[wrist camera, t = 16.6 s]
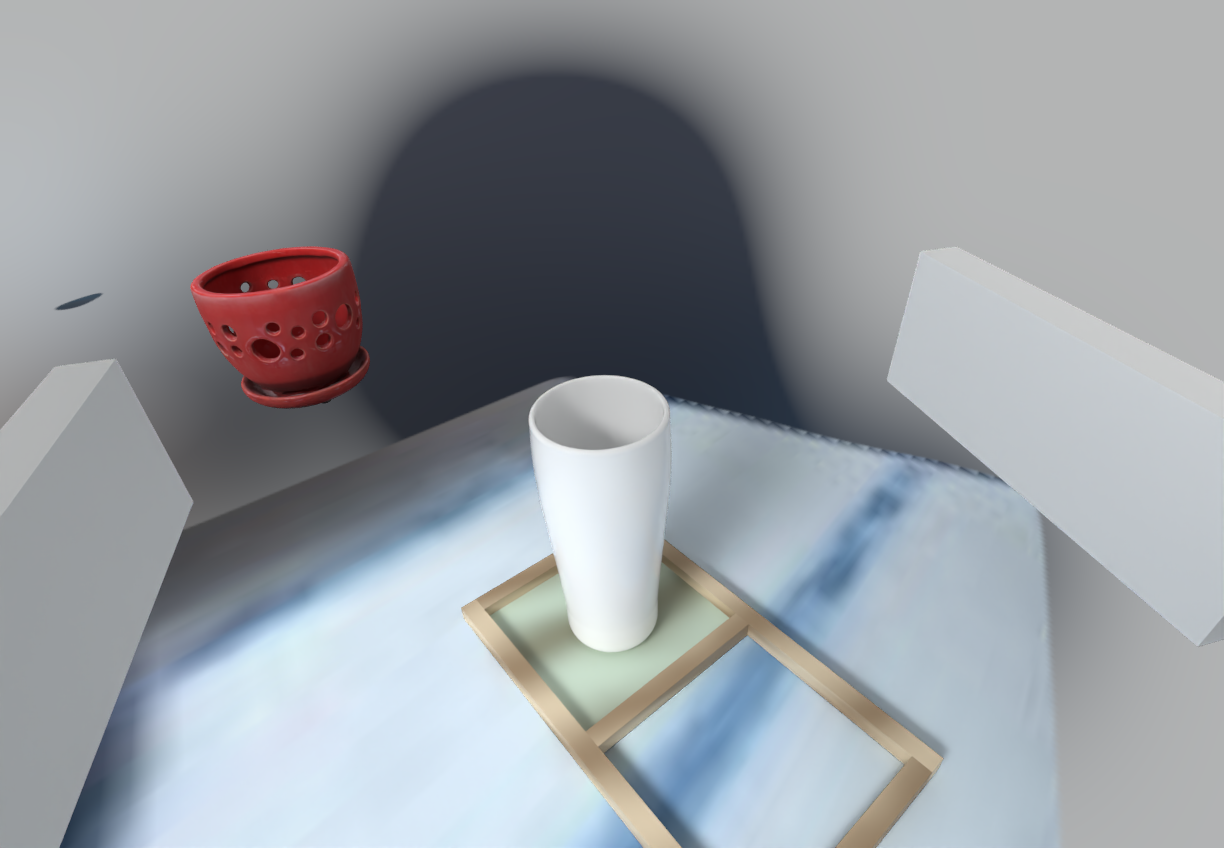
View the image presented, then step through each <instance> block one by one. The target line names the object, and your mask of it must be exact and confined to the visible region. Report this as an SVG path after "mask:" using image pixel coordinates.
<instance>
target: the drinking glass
mask: <svg viewBox="0 0 1224 848" xmlns="http://www.w3.org/2000/svg"><path fill="white" fill-rule="evenodd" d="M529 431H530V444H531V454H532V462H533V469H534V475H535V481H536V486H537V491H538V496H539V500H540V504H541V508H542V512H543V516H544V520H545V524H546V528H547V531H548V535H549V539H550V543H551V546H552V550H553V554H554V558H555V562H556V566H557V570H558V574H559V577H560V581H561V585H562V589H563V593H564V598H565V602H566V609H567V616H568V621H569V625H570V628H571V630H572V632H573V633H574V635H575V636H576V637H577V638H578V639H579V640H580V641H581V642H582V643H583V644H585V645H586V646H588V647H590V648H592V649H594V650H597V651H602V652H611V653H613V652H622V651H626V650H629V649H632V648H634V647H636V646H638V645H639V644H641V643H642V642H643V641H644V640H646V639H647V638H648V636H649V635H650V634H651V632H652V631H653V629H654V627H655V625H656V621H657V617H658V591H659V581H660V572H661V563H662V554H663V546H664V537H665V529H666V521H667V513H668V505H669V496H670V486H671V469H672V442H671V421H670V408H669V405H668V402H667V400H666V399H665V397H664V396H663V395H662V394H661V393H660V392H659V391H658V390H656V389H655V388H653V387H652V386H650V385H648V384H646V383H644V382H642V381H639V380H636V379H632V378H627V377H622V376H613V375H612V376H611V375H597V376H587V377H581V378H577V379H573V380H569V381H566V382H564V383H561V384H559V385H557V386H555V387H553V388H551V389H549V390H548V391H546V392H545V393H544V394H542V395H541V396H540V397H539V398H538V399H537V400H536V401H535V403H534V404H533V406H532V408H531V410H530V413H529Z"/></svg>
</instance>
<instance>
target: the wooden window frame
mask: <svg viewBox="0 0 1224 848" xmlns="http://www.w3.org/2000/svg"><path fill="white" fill-rule="evenodd" d="M461 609H462V613H463V617H464V619H465V621H466V622H467V623H468V624H469V626H470V627H471V628H472V630H473V631H474V632H475V633H476V635H477V636H478V637H479V638H480V640H481V641H482V642H483V644H484V645H485V646H486V647H487V649H488V650H489V651H490V652H491V654H492V655H493V656H494V658H495V659H496V660H497V661H498V663H499V664H500V665H501V667H502V668H503V669H504V670H505V672H506V673H507V674H508V675H509V677H510V678H511V679H512V681H513V682H514V683H515V684H516V686H517V687H518V688H519V690H520V691H521V692H522V693H523V695H524V696H525V697H526V698H527V700H528V701H529V702H530V704H531V705H532V706H533V707H534V709H535V710H536V711H537V712H538V714H539V715H540V716H541V718H542V719H543V720H544V721H545V723H546V724H547V725H548V727H549V728H550V729H551V730H552V732H553V733H554V734H555V735H556V737H557V738H558V739H559V741H560V742H561V743H562V744H563V746H564V747H565V748H566V750H567V751H568V752H569V753H570V755H571V756H572V757H573V758H574V760H575V761H576V762H577V764H578V765H579V766H580V767H581V769H582V770H583V771H584V772H585V774H586V775H587V776H588V778H589V779H590V780H591V781H592V783H593V784H594V785H595V787H596V788H597V789H598V790H599V792H600V793H601V794H602V795H603V797H604V798H605V799H606V801H607V802H608V803H609V804H610V806H611V807H612V808H613V810H614V811H615V812H616V813H617V815H618V816H619V817H620V818H621V820H622V821H623V822H624V824H625V825H626V826H627V827H628V829H629V830H630V831H631V833H632V834H633V835H634V836H635V838H636V839H637V840H638V841H639V843H640V844H641V845H642V847H643V848H682V847H681V846H680V845H679V844H678V842H677V841H676V840H675V839H674V838H673V836H672V835H671V834H670V833H669V832H668V830H667V829H666V828H665V827H664V826H663V824H662V823H661V822H660V821H659V820H658V818H657V817H656V816H655V815H654V814H653V812H652V811H651V810H650V809H649V807H648V806H647V805H646V804H645V803H644V801H643V800H642V799H641V798H640V797H639V795H638V794H637V793H636V792H635V791H634V789H633V788H632V787H631V786H630V785H629V783H628V782H627V781H626V780H625V779H624V777H623V776H622V775H621V774H620V772H619V771H618V770H617V769H616V768H615V766H614V765H613V764H612V763H611V762H610V760H609V759H608V758H607V757H606V756H605V754H604V753H605V752H606V751H607V750H609V749H610V748H611V747H612V746H613V745H615V744H616V743H617V742H618V741H619V740H621V739H622V738H623V737H624V736H626V735H627V734H628V733H629V732H630V731H632V730H633V729H634V728H635V727H636V726H638V725H639V724H640V723H641V722H643V721H644V720H645V719H646V718H647V717H649V716H650V715H651V714H652V713H653V712H655V711H656V710H657V709H658V708H660V707H661V706H662V705H663V704H664V703H666V702H667V701H668V700H669V699H670V698H672V697H673V696H674V695H675V694H676V693H678V692H679V691H680V690H681V689H683V688H684V687H685V686H686V685H687V684H689V683H690V682H691V681H692V680H693V679H695V678H696V677H697V676H698V675H700V674H701V673H702V672H703V671H704V670H706V669H707V668H708V667H709V666H710V665H712V664H713V663H714V662H715V661H717V660H718V659H719V658H720V657H721V656H723V655H724V654H725V653H726V652H727V651H729V650H730V649H731V648H732V647H734V646H735V645H736V644H737V643H738V642H740V641H741V640H742V639H743V638H744V637H746V636H747V635H748V636H749V637H750V638H752V639H753V640H754V641H755V642H756V643H758V644H759V645H760V646H761V647H763V648H764V649H765V650H766V651H767V652H769V653H770V654H771V655H772V656H773V657H775V658H776V659H777V660H778V661H780V662H781V663H782V664H783V665H784V666H786V667H787V668H788V669H789V670H790V671H792V672H793V673H794V674H795V675H797V676H798V677H799V678H800V679H801V680H803V681H804V682H805V683H806V684H807V685H809V686H810V687H811V688H812V689H813V690H815V691H816V692H817V693H818V694H820V695H821V696H822V697H823V698H824V699H826V700H827V701H828V702H829V703H830V704H832V705H833V706H834V707H835V708H837V709H838V710H839V711H840V712H841V713H843V714H844V715H845V716H846V717H847V718H849V719H850V720H851V721H852V722H853V723H855V724H856V725H857V726H858V727H860V728H861V729H862V730H863V731H864V732H866V733H867V734H868V735H869V736H870V737H872V738H873V739H874V740H875V741H877V742H878V743H879V744H880V745H881V746H883V747H884V748H885V749H886V750H887V751H889V752H890V753H891V754H892V755H893V756H895V757H896V758H897V759H898V760H900V761H901V762H902V763H903V764H904V766H903V767H902V769H901V770H900V771H899V772H898V773H897V775H896V776H895V777H894V778H893V779H892V781H891V782H890V783H889V784H888V785H887V786H886V788H885V789H884V790H883V791H882V792H881V794H880V795H879V796H878V797H877V798H876V800H875V801H874V802H873V803H872V804H871V806H870V807H869V808H868V809H867V810H866V812H865V813H864V814H863V815H862V816H861V817H860V819H859V820H858V821H857V822H856V823H855V825H854V826H853V827H852V828H851V829H850V831H849V832H848V833H847V834H846V835H845V837H844V838H843V839H842V840H841V841H840V843H839V844H838V845H837V846H836V847H835V848H876V847H877V846H878V844H879V843H880V842H881V841H882V839H883V838H884V837H885V836H886V834H887V833H888V832H889V831H890V829H891V828H892V827H893V826H894V824H895V823H896V822H897V821H898V819H899V818H900V817H901V816H902V814H903V813H904V812H905V810H906V809H907V808H908V807H909V805H910V804H911V803H912V802H913V800H914V799H915V798H916V797H917V795H918V794H919V793H920V792H921V790H922V789H923V788H924V787H925V785H926V784H927V783H928V782H929V780H930V779H931V778H932V776H933V775H934V774H935V773H936V771H937V770H938V769H939V767H940V765H941V762H942V760H943V758H942V757H941V756H940V755H939V754H937V753H936V752H935V751H933V750H932V749H931V748H930V747H928V746H927V745H926V744H925V743H923V742H922V741H921V740H919V739H918V738H917V737H916V736H914V735H913V734H912V733H911V732H909V731H908V730H907V729H905V728H904V727H903V726H902V725H900V724H899V723H898V722H897V721H895V720H894V719H893V718H891V717H890V716H889V715H888V714H886V713H885V712H884V711H883V710H881V709H880V708H879V707H877V706H876V705H875V704H874V703H872V702H871V701H870V700H868V699H867V698H866V697H865V696H863V695H862V694H861V693H860V692H858V691H857V690H856V689H854V688H853V687H852V686H851V685H849V684H848V683H847V682H846V681H844V680H843V679H842V678H840V677H839V676H838V675H837V674H835V673H834V672H833V671H832V670H830V669H829V668H828V667H826V666H825V665H824V664H823V663H821V662H820V661H819V660H818V659H816V658H815V657H814V656H812V655H811V654H810V653H809V652H807V651H806V650H805V649H804V648H802V647H801V646H800V645H798V644H797V643H796V642H795V641H793V640H792V639H791V638H790V637H788V636H787V635H786V634H784V633H783V632H782V631H781V630H779V629H778V628H777V627H775V626H774V625H773V624H772V623H770V622H769V621H768V620H767V619H765V618H764V617H763V616H761V615H760V614H759V613H758V612H756V611H755V610H754V609H753V608H751V607H750V606H749V605H747V604H746V603H745V602H744V601H742V600H741V599H740V598H739V597H737V596H736V595H735V594H733V593H732V592H731V591H730V590H728V589H727V588H726V587H725V586H723V585H722V584H721V583H719V582H718V581H717V580H716V579H714V578H713V577H712V576H711V575H709V574H708V573H707V572H705V571H704V570H703V569H702V568H700V567H699V566H698V565H696V564H695V563H694V562H693V561H691V560H690V559H689V558H688V557H686V556H685V555H684V554H682V553H681V552H680V551H679V550H677V549H676V548H675V547H674V546H672V545H671V544H670V543H668V542H667V541H666V540H665V539H664V546H663V554H662V563H661V572H660V581H659V591H658V617H657V621H656V625H655V627H654V629H653V631H652V632H651V634H650V635H649V636H648V638H647V639H646V640H644V641H643V642H642V643H641V644H639V645H638V646H636V647H634V648H632V649H629V650H626V651H622V652H613V653H611V652H602V651H597V650H594V649H592V648H590V647H588V646H586V645H585V644H583V643H582V642H581V641H580V640H579V639H578V638H577V637H576V636H575V635H574V633H573V632H572V630H571V628H570V625H569V621H568V616H567V609H566V602H565V598H564V593H563V589H562V585H561V581H560V577H559V574H558V570H557V566H556V562H555V558H554V554H551V555H549V556H548V557H546V558H544V559H543V560H541V561H539V562H537V563H536V564H534V565H532V566H531V567H529V568H527V569H526V570H524V571H522V572H521V573H519V574H517V575H516V576H514V577H512V578H511V579H509V580H507V581H506V582H504V583H502V584H501V585H499V586H497V587H495V588H494V589H492V590H490V591H489V592H487V593H485V594H484V595H482V596H480V597H479V598H477V599H475V600H474V601H472V602H470V603H469V604H467V605H465V606H464V607H462V608H461Z"/></svg>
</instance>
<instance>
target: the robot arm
mask: <svg viewBox="0 0 1224 848" xmlns="http://www.w3.org/2000/svg"><path fill="white" fill-rule="evenodd" d="M887 381H888V382H889V383H890V384H891V385H893V386H894V387H895V388H896V389H897V390H898V391H900V392H901V393H902V394H903V395H904V396H906V397H907V398H908V399H909V400H910V401H911V402H913V403H914V404H915V405H916V406H917V407H918V408H919V409H921V410H922V411H923V412H924V413H925V414H926V415H928V416H929V417H930V418H931V419H932V420H933V421H935V422H936V423H937V424H938V425H939V426H940V427H942V428H943V429H944V430H945V431H946V432H947V433H949V434H950V435H951V436H952V437H953V438H954V439H956V440H957V441H958V442H959V443H960V444H961V445H963V446H964V447H965V448H966V449H967V450H968V451H970V452H971V453H972V454H973V455H974V456H975V457H977V458H978V459H979V460H980V461H981V462H982V463H984V464H985V465H986V466H987V467H988V468H989V469H991V470H992V471H993V472H994V473H995V474H996V475H998V476H999V477H1000V478H1001V479H1002V480H1003V481H1005V482H1006V483H1007V484H1008V485H1009V486H1010V487H1012V488H1013V489H1014V490H1015V491H1016V492H1017V493H1019V494H1020V495H1021V496H1022V497H1023V498H1024V499H1026V500H1027V501H1028V502H1029V503H1030V504H1031V505H1033V506H1034V507H1035V508H1036V509H1037V510H1038V511H1040V512H1041V513H1042V514H1043V515H1044V516H1046V517H1047V518H1048V519H1049V520H1050V521H1051V522H1053V523H1054V524H1055V525H1056V526H1057V527H1058V528H1059V529H1061V530H1062V531H1063V532H1064V533H1065V534H1066V535H1068V536H1069V537H1070V538H1071V539H1072V540H1073V541H1075V542H1076V543H1077V544H1078V545H1079V546H1080V547H1082V548H1083V549H1084V550H1085V551H1086V552H1087V553H1089V554H1090V555H1091V556H1092V557H1093V558H1094V559H1096V560H1097V561H1098V562H1099V563H1100V564H1101V565H1103V566H1104V567H1105V568H1106V569H1107V570H1108V571H1110V572H1111V573H1112V574H1113V575H1114V576H1115V577H1117V578H1118V579H1119V580H1120V581H1121V582H1123V583H1124V584H1125V585H1126V586H1127V587H1128V588H1129V589H1131V590H1132V591H1133V592H1134V593H1135V594H1136V595H1138V596H1139V597H1140V598H1141V599H1142V600H1143V601H1145V602H1146V603H1147V604H1148V605H1149V606H1151V607H1152V608H1153V609H1154V610H1155V611H1156V612H1157V613H1159V614H1160V615H1161V616H1162V617H1163V618H1164V619H1166V620H1167V621H1168V622H1169V623H1170V624H1171V625H1173V626H1174V627H1175V628H1176V629H1177V630H1178V631H1180V632H1181V633H1182V634H1183V635H1184V636H1185V637H1187V638H1188V639H1189V640H1190V641H1191V642H1192V643H1194V644H1195V645H1196V646H1197V647H1200V646H1203V645H1206V644H1210V643H1213V642H1216V641H1220V640H1223V639H1224V382H1223V381H1221V380H1219V379H1217V378H1215V377H1213V376H1211V375H1209V374H1207V373H1205V372H1203V371H1201V370H1199V369H1197V368H1195V367H1193V366H1191V365H1189V364H1187V363H1185V362H1183V361H1181V360H1179V359H1177V358H1175V357H1173V356H1171V355H1169V354H1167V353H1166V352H1164V351H1162V350H1160V349H1158V348H1156V347H1154V346H1152V345H1150V344H1148V343H1146V342H1144V341H1142V340H1140V339H1138V338H1136V337H1134V336H1132V335H1130V334H1128V333H1126V332H1124V331H1122V330H1120V329H1118V328H1116V327H1114V326H1112V325H1110V324H1108V323H1106V322H1104V321H1102V320H1101V319H1099V318H1097V317H1095V316H1093V315H1091V314H1089V313H1087V312H1085V311H1083V310H1081V309H1079V308H1077V307H1075V306H1073V305H1070V304H1069V303H1067V302H1065V301H1063V300H1061V299H1059V298H1057V297H1055V296H1053V295H1051V294H1049V293H1047V292H1045V291H1043V290H1041V289H1039V288H1037V287H1035V286H1034V285H1031V284H1030V283H1027V282H1026V281H1024V280H1022V279H1020V278H1017V277H1015V276H1014V275H1012V274H1010V273H1008V272H1006V271H1004V270H1002V269H1000V268H998V267H996V266H994V265H992V264H990V263H988V262H986V261H984V260H982V259H980V258H978V257H976V256H974V255H972V254H970V253H968V252H966V251H964V250H963V249H961V248H959V247H950V248H942V249H935V250H927V251H920V255H919V258H918V262H917V266H916V270H915V274H914V277H913V282H912V285H911V289H910V293H909V296H908V300H907V304H906V308H905V312H904V316H903V319H902V323H901V327H900V331H899V335H898V338H897V342H896V346H895V350H894V353H893V357H892V361H891V365H890V369H889V373H888V377H887ZM192 505H193V500H192V498H191V496H190V494H189V493H188V491H187V489H186V487H185V485H184V483H183V481H182V480H181V478H180V476H179V474H178V472H177V470H176V469H175V467H174V465H173V463H172V461H171V459H170V458H169V456H168V454H167V452H166V450H165V448H164V446H163V445H162V443H161V441H160V439H159V437H158V435H157V434H156V432H155V430H154V428H153V426H152V424H151V422H150V421H149V419H148V417H147V415H146V413H145V411H144V410H143V408H142V406H141V404H140V402H139V400H138V399H137V397H136V395H135V393H134V391H133V389H132V388H131V386H130V384H129V382H128V380H127V378H126V376H125V375H124V373H123V371H122V369H121V367H120V365H119V363H118V362H117V360H116V359H109V360H101V361H94V362H86V363H79V364H72V365H64V366H56V367H54V368H53V369H52V371H51V372H50V373H49V374H48V375H47V376H46V378H45V379H44V380H43V381H42V382H41V383H40V384H39V386H38V387H37V388H36V389H35V390H34V391H33V393H32V394H31V395H30V396H29V397H28V398H27V399H26V401H25V402H24V403H23V404H22V405H21V406H20V408H19V409H18V410H17V411H16V412H15V413H14V414H13V416H12V417H11V418H10V419H9V420H8V421H7V423H6V424H5V425H4V426H3V427H2V428H1V430H0V848H59V847H60V844H61V842H62V839H63V836H64V834H65V831H66V829H67V826H68V824H69V821H70V818H71V816H72V813H73V811H74V808H75V806H76V803H77V800H78V798H79V795H80V793H81V790H82V788H83V785H84V782H85V780H86V777H87V775H88V772H89V770H90V767H91V764H92V762H93V759H94V757H95V754H96V752H97V749H98V746H99V744H100V741H101V739H102V736H103V734H104V731H105V728H106V726H107V723H108V721H109V718H110V716H111V713H112V710H113V708H114V705H115V703H116V700H117V698H118V695H119V692H120V690H121V687H122V685H123V682H124V680H125V677H126V674H127V672H128V669H129V667H130V664H131V662H132V659H133V656H134V654H135V651H136V649H137V646H138V644H139V641H140V638H141V636H142V633H143V631H144V628H145V626H146V623H147V620H148V618H149V615H150V613H151V610H152V608H153V605H154V602H155V600H156V597H157V595H158V592H159V590H160V587H161V584H162V582H163V579H164V577H165V574H166V571H167V569H168V566H169V564H170V561H171V559H172V556H173V553H174V551H175V548H176V546H177V543H178V541H179V538H180V535H181V533H182V530H183V528H184V525H185V523H186V520H187V517H188V515H189V512H190V510H191V507H192Z"/></svg>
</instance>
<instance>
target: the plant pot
mask: <svg viewBox="0 0 1224 848" xmlns="http://www.w3.org/2000/svg"><path fill="white" fill-rule="evenodd" d="M296 277H302V278H304V279H305V280H306V281H304V282H301V283H298V284H294V285H293V279H294V278H296ZM271 280H275V281H277V282H278V287H277V288H275V289H271V288H269V287H268V282H269V281H271ZM245 282H246V283H248V284H249V286H250V287H249V291H247V292H242V290H241V285H242V284H243V283H245ZM191 292H192V295H193V297H194V300H195V303H196V305H197V307H198V310H199V312H200V314H201V316H202V318H203V320H204V322H205V324H206V326H207V328H208V330H209V332H210V334H211V336H212V338H213V340H214V341H215V343H216V345H217V346H218V348H219V349H220V350H221V352H222V353H223V355H224V356H225V357H226V358H227V360H228V361H229V362H230V363H231V364H232V365H233V366H234V367H235V368H236V369H237V370H238V371H239V372H240V373H242V374H243V375H244V377H243V379H242V382H241V386H242V389H243V391H244V393H245V394H246V395H247V396H248V397H249V398H250V399H251V400H253V401H255V402H257V403H259V404H262V405H265V406H269V407H275V408H301V407H307V406H312V405H316V404H319V403H328V402H330V401H331V399H334V398H336V397H338V396H340V395H342V394H344V393H345V392H347V391H349V390H350V389H352V388H353V387H354V386H356V385H357V384H358V383H359V382H360V381H361V380H362V379H363V377H364V376H365V374H366V373H367V371H368V368H369V364H370V358H369V354H368V352H367V351H366V350H365V349H364V348H363V347H362V346H360V342H361V336H362V314H361V303H360V297H359V292H358V288H357V284H356V280H355V276H354V272H353V269H352V266H351V262H350V260H349V258H348V256H347V255H346V254H345V253H343V252H342V251H339V250H337V249H333V248H326V247H292V248H283V249H277V250H270V251H265V252H260V253H255V254H251V255H247V256H243V257H240V258H236V259H233V260H230V261H227V262H225V263H222V264H219V265H217V266H214V267H213V268H211V269H209V270H207V271H205V272H204V273H202V274H200V275H199V276H198V277H196V278H195V279H194V280H193V282H192V284H191ZM228 326H230V327H231V328H232V329H233V330H234V333H232V332H231V331H230V329H229V327H228Z"/></svg>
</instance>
